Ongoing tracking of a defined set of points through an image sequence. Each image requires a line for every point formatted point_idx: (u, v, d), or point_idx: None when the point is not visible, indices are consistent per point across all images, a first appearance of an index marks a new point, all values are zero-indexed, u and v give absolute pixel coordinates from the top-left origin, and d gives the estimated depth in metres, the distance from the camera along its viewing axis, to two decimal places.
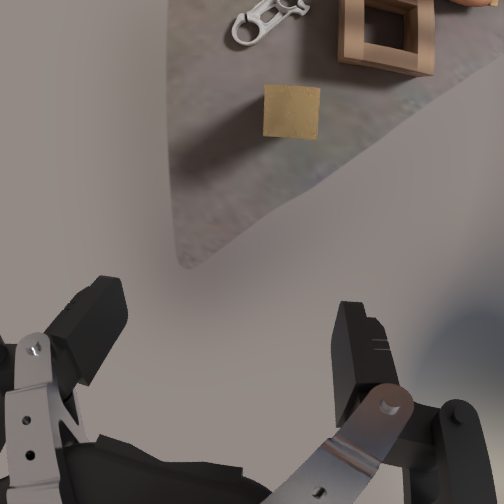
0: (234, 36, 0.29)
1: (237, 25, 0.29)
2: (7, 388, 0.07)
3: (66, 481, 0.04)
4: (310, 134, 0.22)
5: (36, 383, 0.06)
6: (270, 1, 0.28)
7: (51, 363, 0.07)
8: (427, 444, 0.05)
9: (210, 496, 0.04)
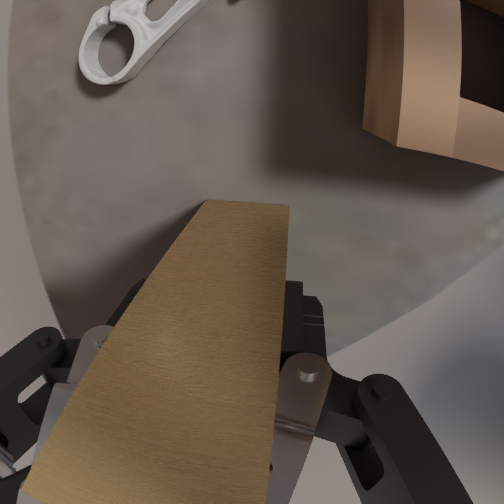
0: (82, 67, 0.11)
1: (94, 37, 0.11)
2: None
3: None
4: None
5: None
6: None
7: None
8: (347, 416, 0.07)
9: None
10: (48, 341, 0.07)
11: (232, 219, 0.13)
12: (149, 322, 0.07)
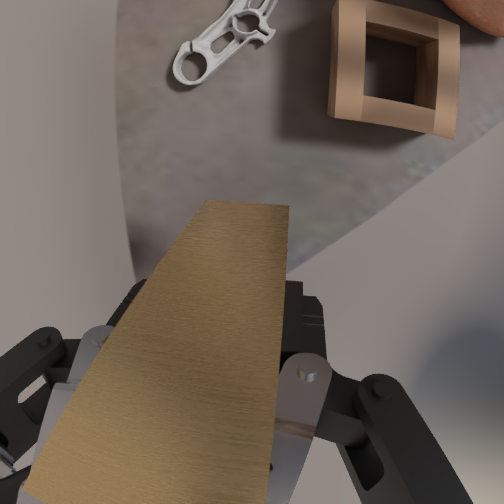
0: (175, 74, 0.24)
1: (181, 58, 0.24)
2: None
3: None
4: None
5: None
6: (225, 23, 0.22)
7: None
8: (347, 416, 0.07)
9: None
10: (48, 341, 0.07)
11: (232, 219, 0.13)
12: (150, 322, 0.07)
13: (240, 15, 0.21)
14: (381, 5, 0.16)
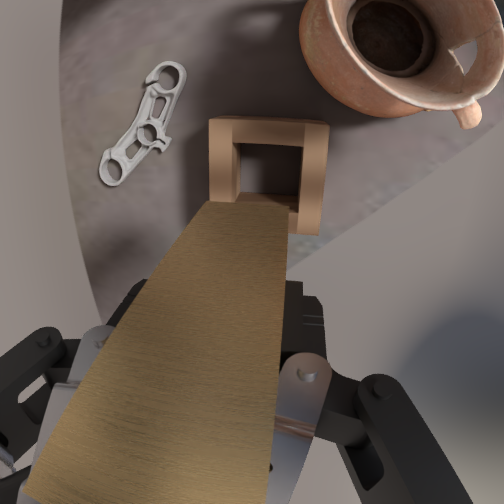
0: (101, 176, 0.32)
1: (105, 162, 0.32)
2: None
3: None
4: None
5: None
6: (134, 132, 0.31)
7: None
8: (347, 416, 0.07)
9: None
10: (48, 341, 0.07)
11: (232, 220, 0.13)
12: (150, 324, 0.07)
13: (144, 125, 0.30)
14: (247, 123, 0.25)
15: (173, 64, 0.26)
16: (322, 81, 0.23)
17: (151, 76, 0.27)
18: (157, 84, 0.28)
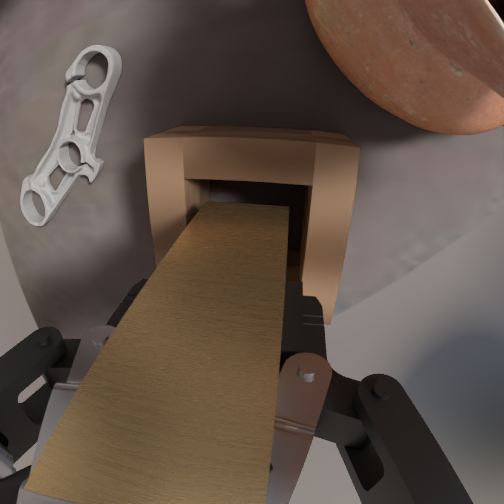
0: (24, 213, 0.21)
1: (27, 194, 0.21)
2: None
3: None
4: None
5: None
6: None
7: None
8: (347, 416, 0.07)
9: None
10: (48, 341, 0.07)
11: (232, 220, 0.13)
12: (150, 324, 0.07)
13: (67, 142, 0.19)
14: (208, 143, 0.14)
15: (100, 49, 0.15)
16: (347, 65, 0.12)
17: (72, 69, 0.16)
18: (81, 81, 0.16)
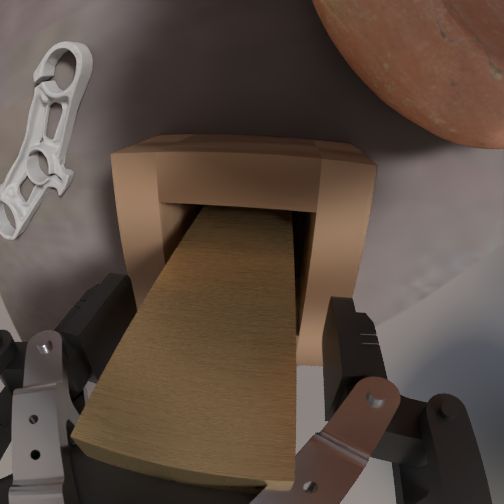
0: None
1: None
2: (15, 387, 0.07)
3: (70, 482, 0.04)
4: None
5: (45, 381, 0.06)
6: None
7: (64, 360, 0.07)
8: (414, 438, 0.06)
9: (210, 496, 0.04)
10: (0, 343, 0.07)
11: None
12: (180, 287, 0.09)
13: (36, 151, 0.16)
14: (186, 159, 0.11)
15: (68, 46, 0.12)
16: (360, 60, 0.09)
17: (39, 70, 0.13)
18: (50, 83, 0.14)
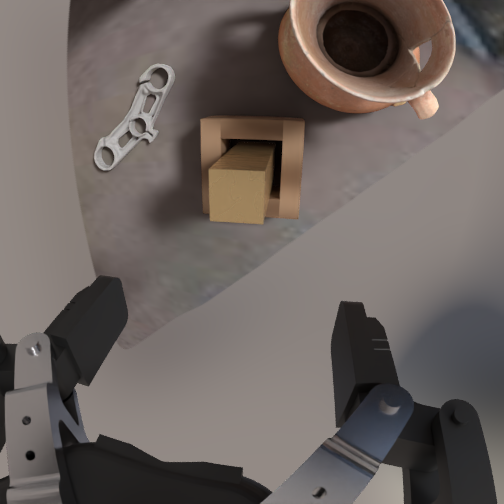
0: (96, 161, 0.36)
1: (100, 149, 0.35)
2: (7, 388, 0.07)
3: (66, 481, 0.04)
4: (256, 218, 0.23)
5: (36, 383, 0.06)
6: (127, 124, 0.34)
7: (51, 363, 0.07)
8: (427, 444, 0.05)
9: (210, 496, 0.04)
10: None
11: (252, 144, 0.32)
12: (232, 156, 0.26)
13: (136, 118, 0.34)
14: (233, 121, 0.28)
15: (163, 66, 0.30)
16: (298, 83, 0.27)
17: (144, 76, 0.30)
18: (149, 83, 0.31)
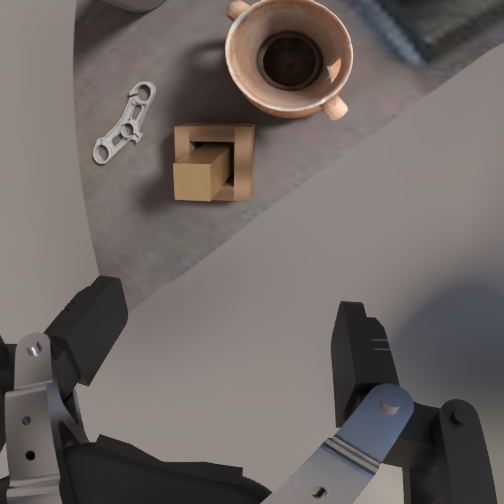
0: (94, 156, 0.45)
1: (97, 147, 0.45)
2: (7, 388, 0.07)
3: (66, 481, 0.04)
4: (206, 197, 0.33)
5: (36, 383, 0.06)
6: (119, 127, 0.43)
7: (51, 363, 0.07)
8: (427, 444, 0.05)
9: (209, 496, 0.04)
10: None
11: (214, 145, 0.41)
12: (194, 154, 0.36)
13: None
14: (197, 128, 0.38)
15: (147, 84, 0.39)
16: (247, 97, 0.36)
17: (133, 90, 0.40)
18: (136, 96, 0.40)
